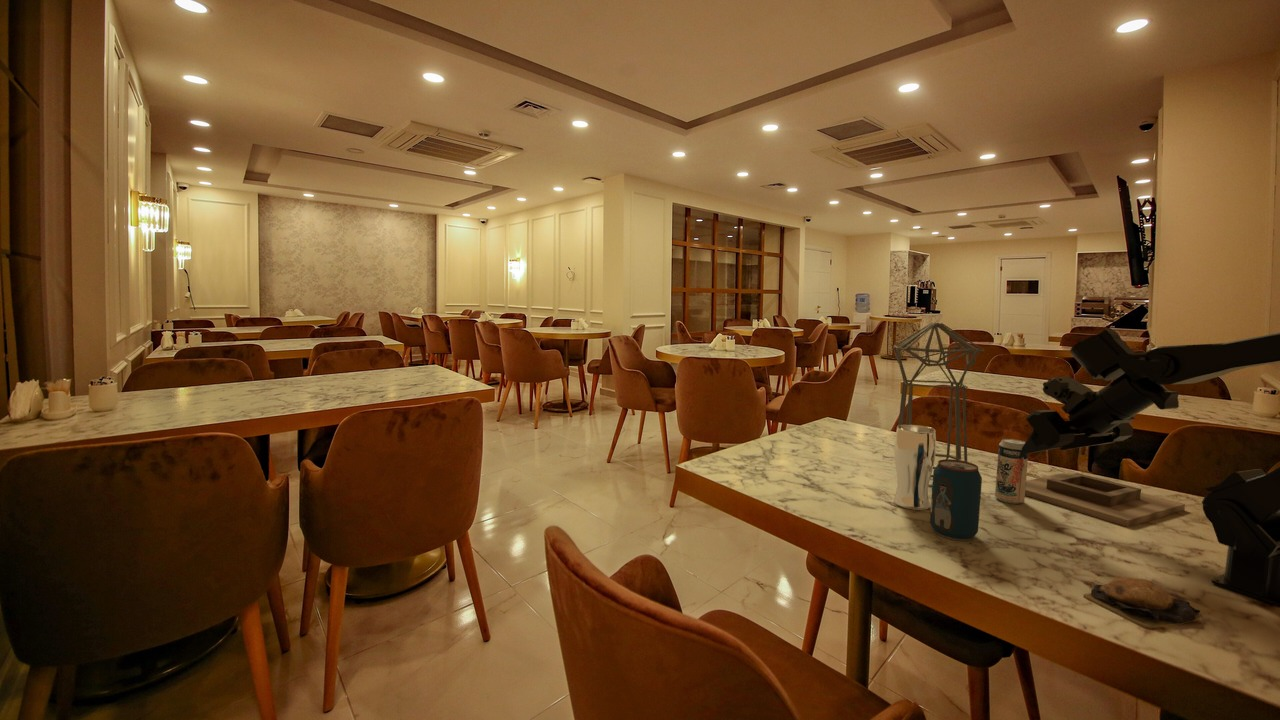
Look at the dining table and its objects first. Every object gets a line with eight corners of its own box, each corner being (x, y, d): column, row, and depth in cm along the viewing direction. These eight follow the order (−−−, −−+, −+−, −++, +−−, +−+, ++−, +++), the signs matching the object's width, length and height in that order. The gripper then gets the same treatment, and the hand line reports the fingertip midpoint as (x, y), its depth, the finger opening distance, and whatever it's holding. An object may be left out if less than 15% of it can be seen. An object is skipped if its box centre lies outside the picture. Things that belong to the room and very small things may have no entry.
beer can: (989, 498, 103) (993, 439, 102) (1003, 494, 105) (1008, 437, 104) (1015, 506, 99) (1020, 445, 98) (1029, 502, 101) (1034, 442, 100)
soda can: (976, 530, 88) (981, 462, 87) (978, 546, 82) (984, 473, 81) (929, 521, 92) (934, 455, 90) (928, 536, 86) (933, 466, 84)
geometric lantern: (892, 487, 109) (898, 322, 107) (887, 468, 124) (893, 322, 121) (979, 497, 103) (988, 322, 101) (964, 476, 118) (971, 322, 115)
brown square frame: (1127, 526, 90) (1129, 509, 90) (1007, 489, 108) (1008, 475, 108) (1184, 510, 98) (1186, 493, 98) (1063, 478, 116) (1064, 464, 116)
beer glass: (883, 500, 102) (887, 425, 100) (909, 496, 104) (914, 423, 103) (913, 513, 95) (918, 433, 94) (940, 508, 98) (945, 431, 96)
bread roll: (1149, 636, 61) (1152, 607, 60) (1074, 597, 69) (1077, 571, 68) (1214, 624, 63) (1218, 595, 63) (1134, 587, 71) (1137, 562, 71)
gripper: (1120, 362, 92) (1049, 411, 103) (1042, 364, 86) (977, 415, 98) (1170, 414, 85) (1089, 460, 97) (1090, 420, 80) (1014, 468, 91)
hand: (1042, 449), depth 96 cm, fingers open, 9 cm apart
